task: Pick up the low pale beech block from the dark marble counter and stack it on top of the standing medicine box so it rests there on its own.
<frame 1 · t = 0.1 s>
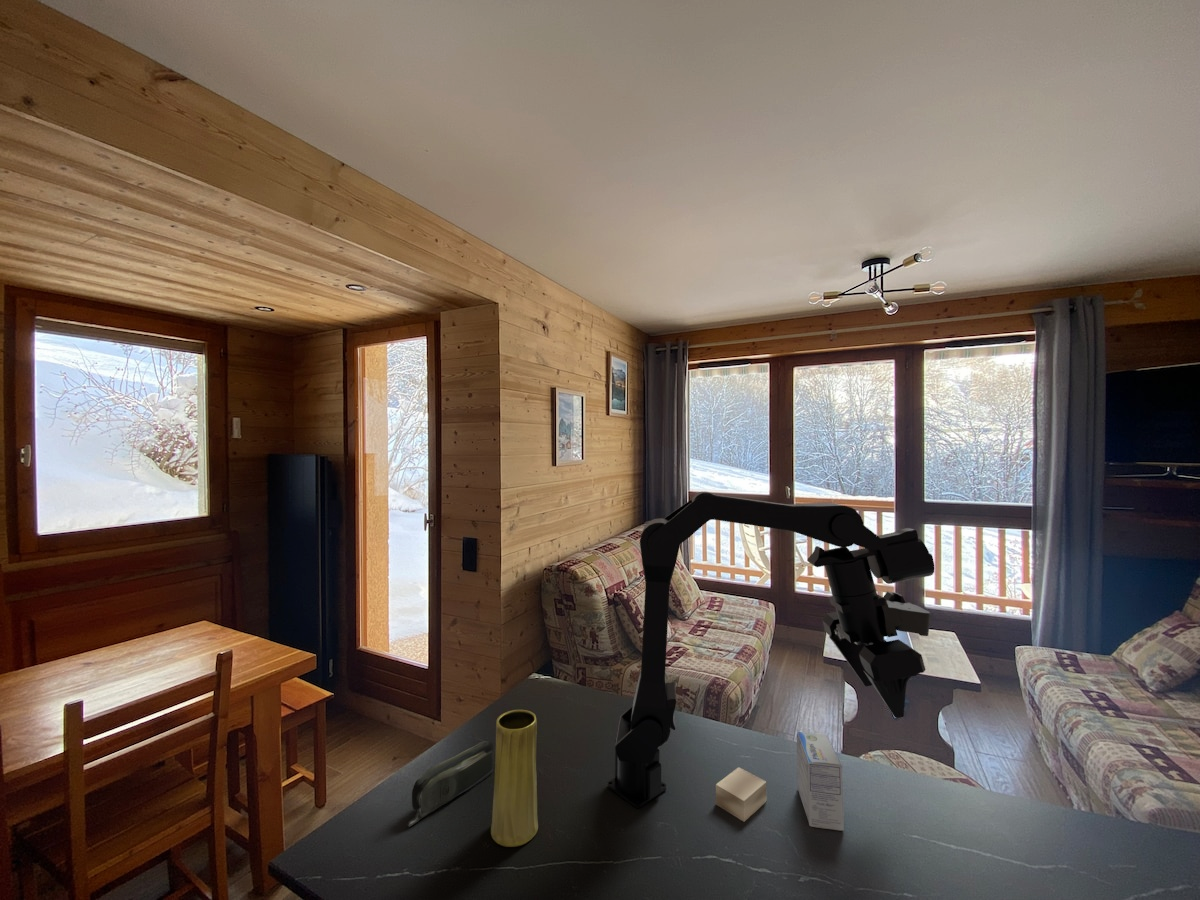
hand: (882, 700, 67), 15 cm above the kitchen counter, tool pointing down, fingers open, 9 cm apart
stapler: (452, 797, 70), on the kitchen counter
beech block: (741, 804, 69), on the kitchen counter
medicine box: (818, 811, 67), on the kitchen counter
vase: (514, 831, 63), on the kitchen counter
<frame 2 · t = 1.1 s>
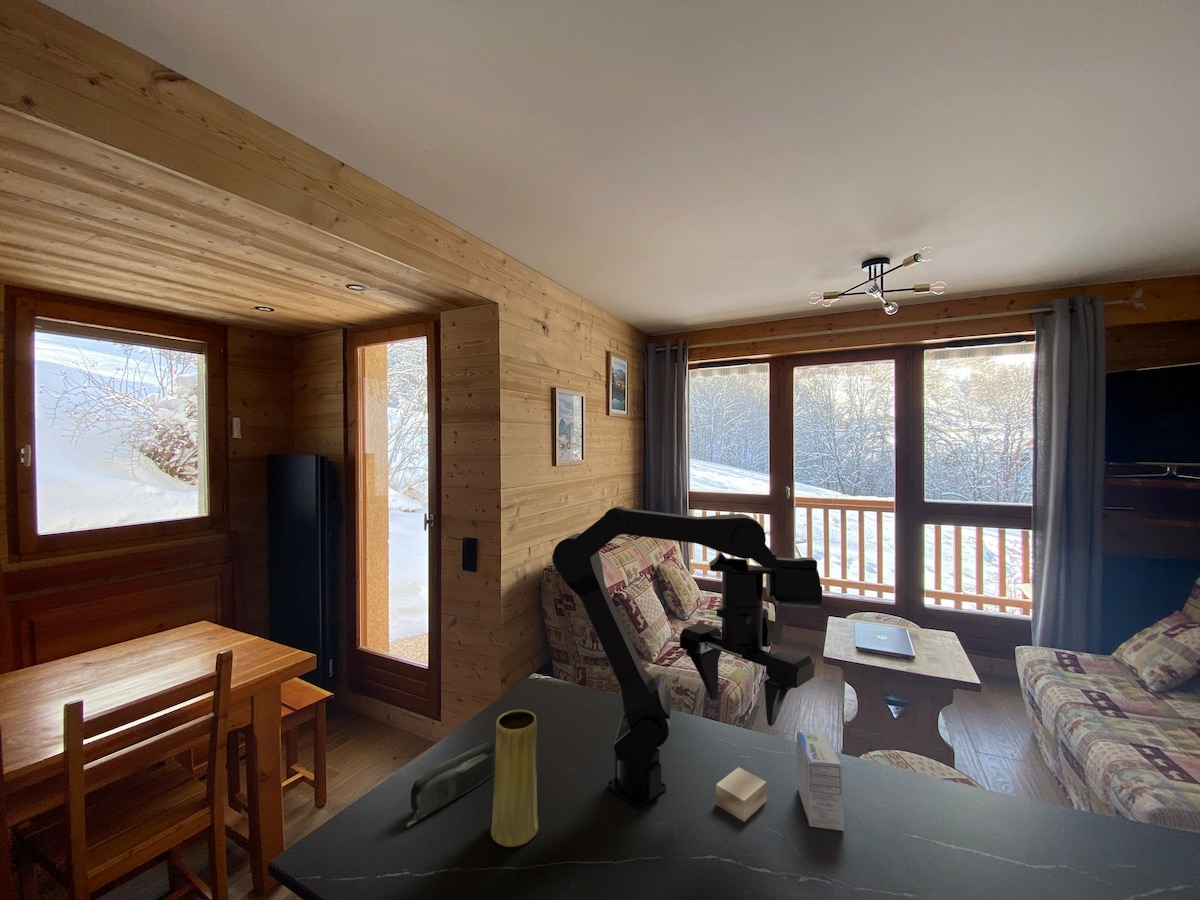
hand: (741, 711, 69), 13 cm above the kitchen counter, tool pointing down, fingers open, 9 cm apart
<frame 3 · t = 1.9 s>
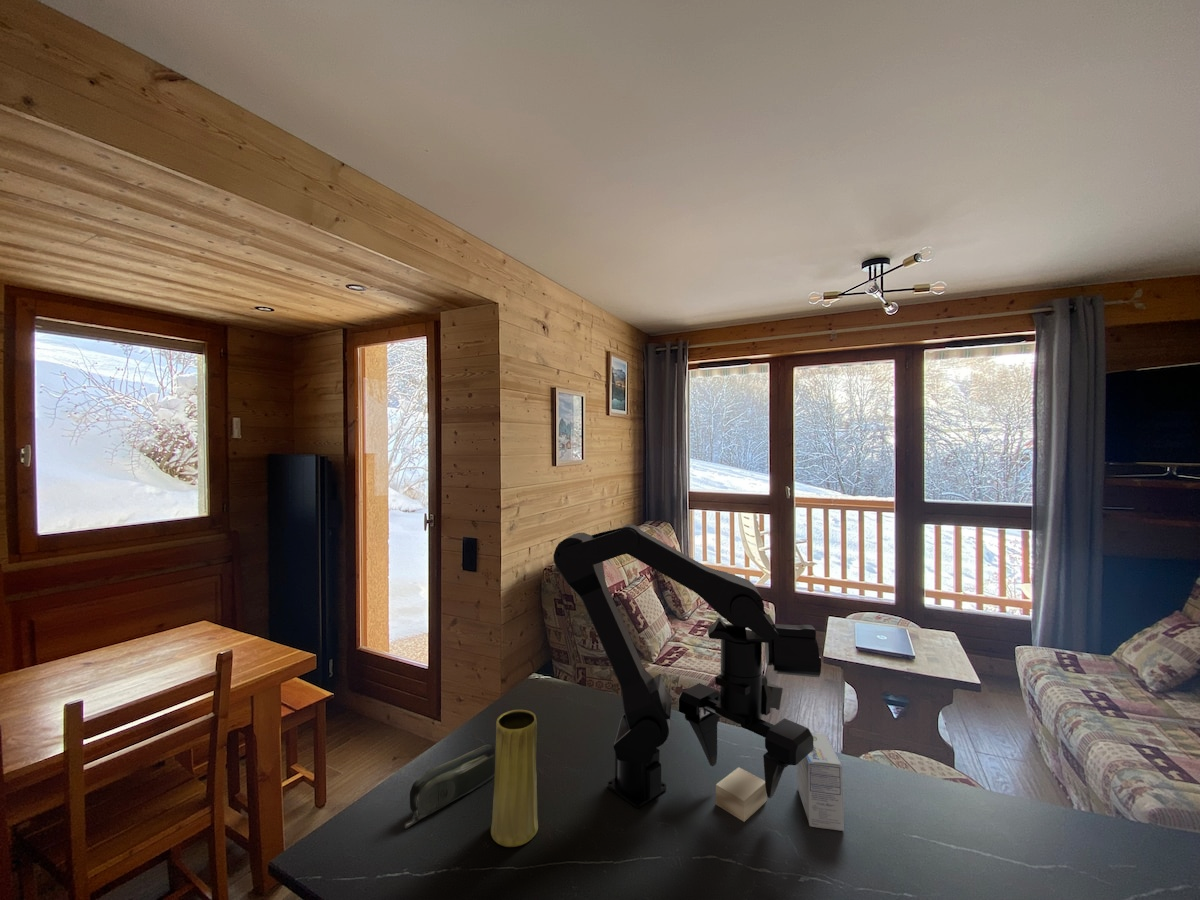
hand: (740, 780, 69), 3 cm above the kitchen counter, tool pointing down, fingers open, 9 cm apart
nothing on the kitchen counter moved.
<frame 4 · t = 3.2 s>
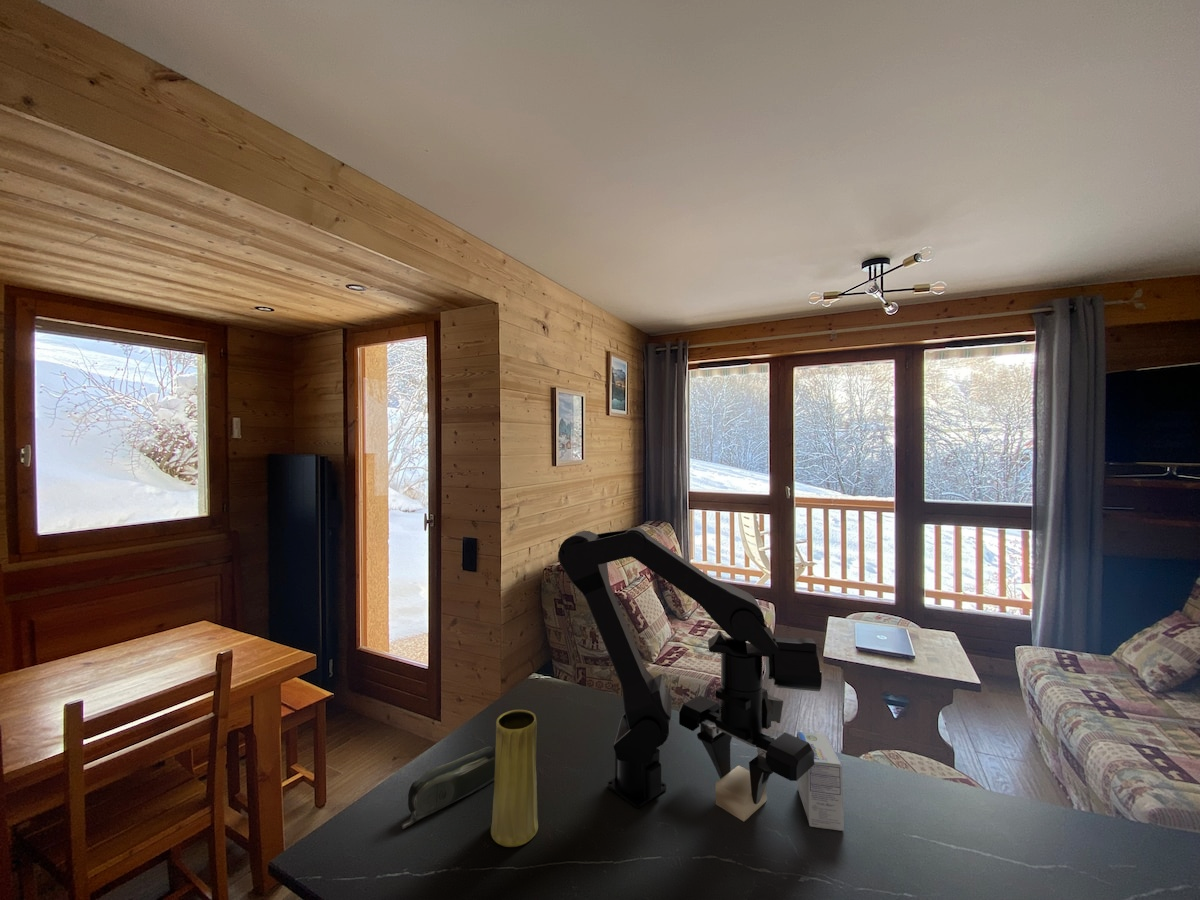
hand: (741, 793, 69), 1 cm above the kitchen counter, tool pointing down, fingers closed on beech block, 4 cm apart
beech block: (741, 802, 69), on the kitchen counter, touching gripper
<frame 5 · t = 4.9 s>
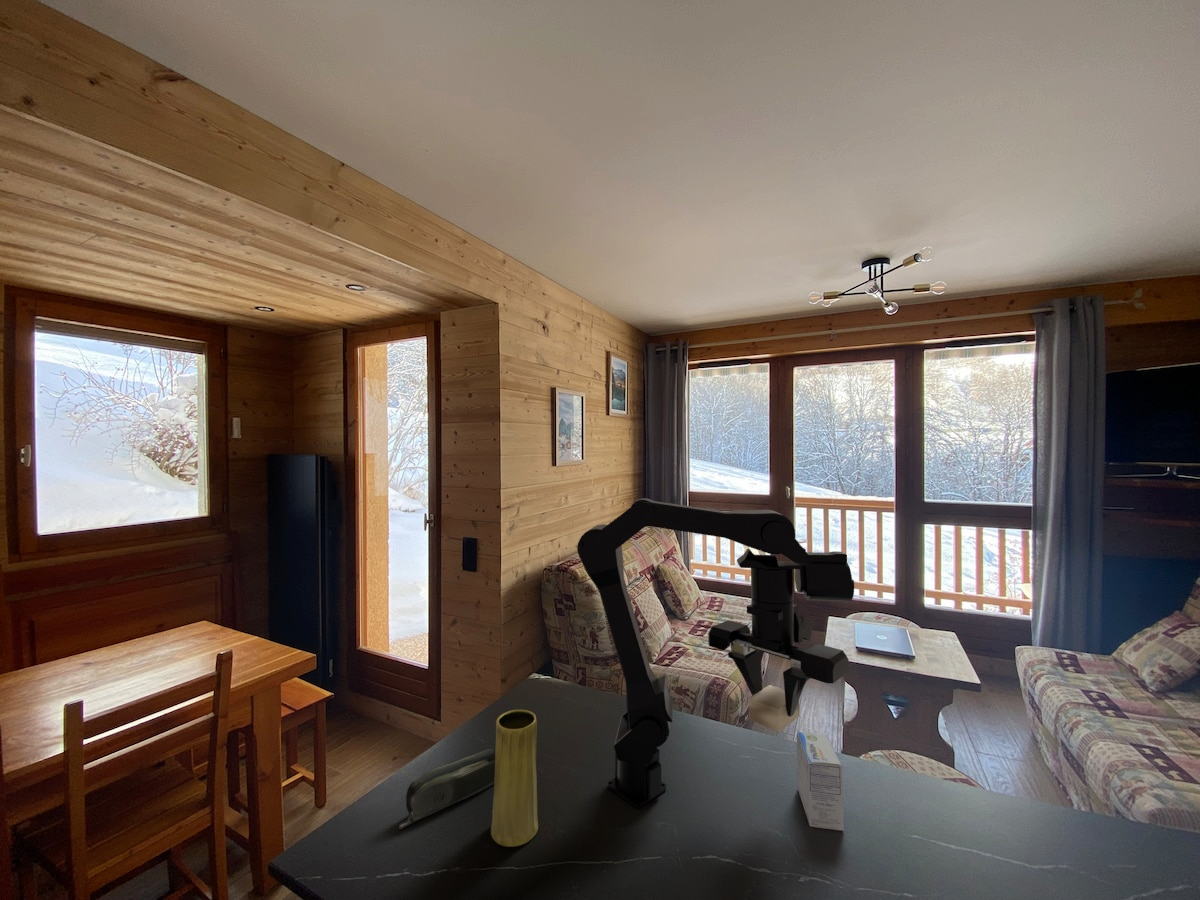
hand: (774, 709, 69), 13 cm above the kitchen counter, tool pointing down, fingers closed on beech block, 4 cm apart
beech block: (774, 717, 69), point 12 cm above the kitchen counter, touching gripper
when the fingers open (11 cm above the kitchen counter, at t = 6.3 s): beech block drops 1 cm, resting on medicine box.
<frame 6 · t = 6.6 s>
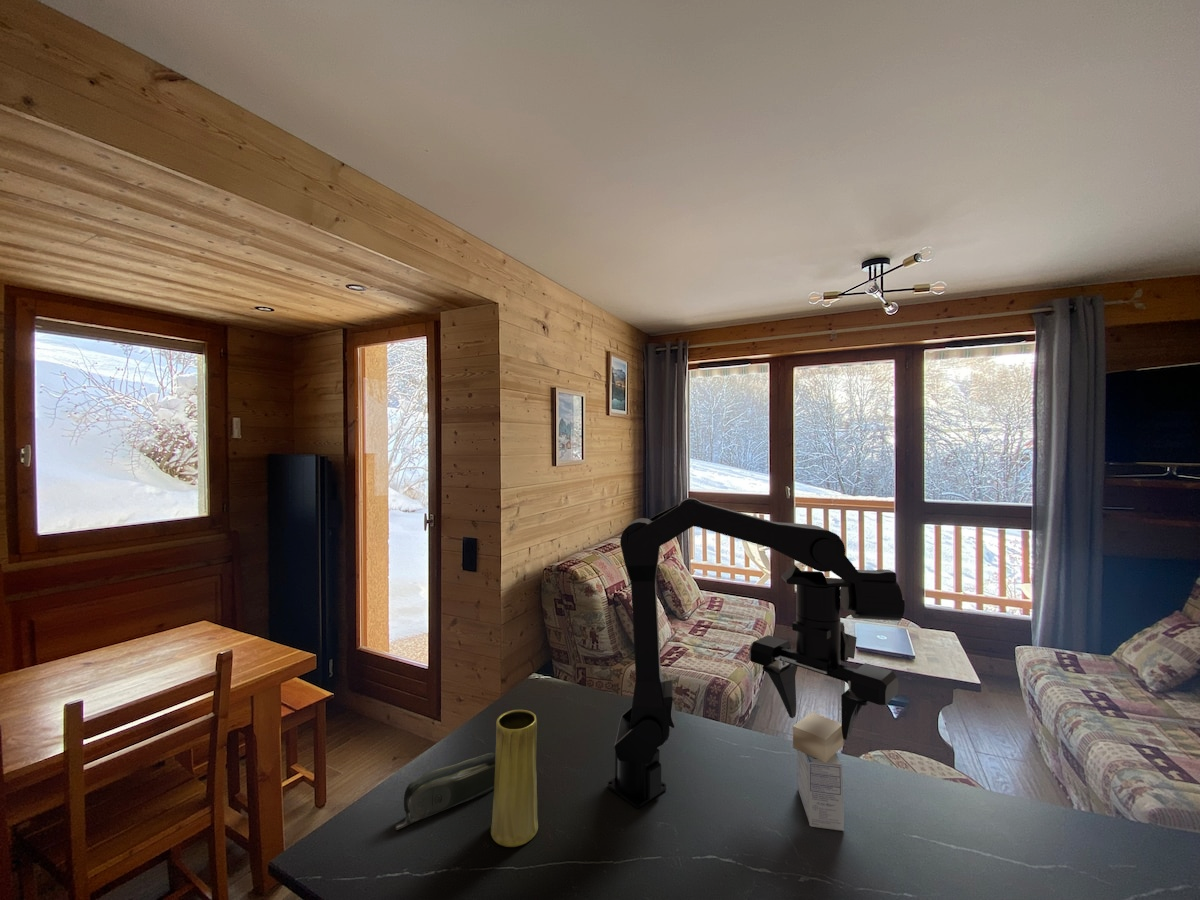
hand: (818, 727, 68), 11 cm above the kitchen counter, tool pointing down, fingers open, 7 cm apart
beech block: (818, 746, 68), point 9 cm above the kitchen counter, touching medicine box
medicine box: (819, 811, 67), on the kitchen counter, touching beech block
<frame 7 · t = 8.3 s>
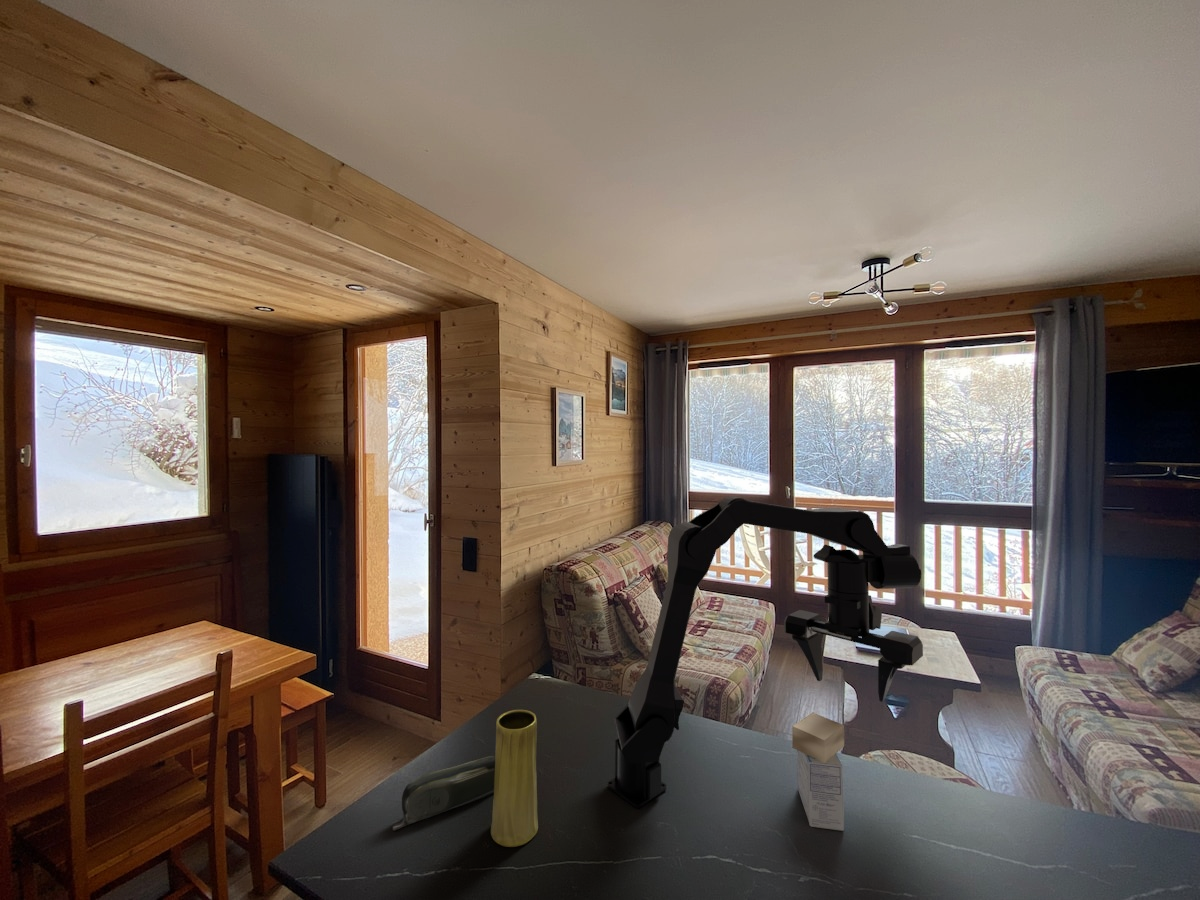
hand: (849, 690, 75), 13 cm above the kitchen counter, tool pointing down, fingers open, 9 cm apart
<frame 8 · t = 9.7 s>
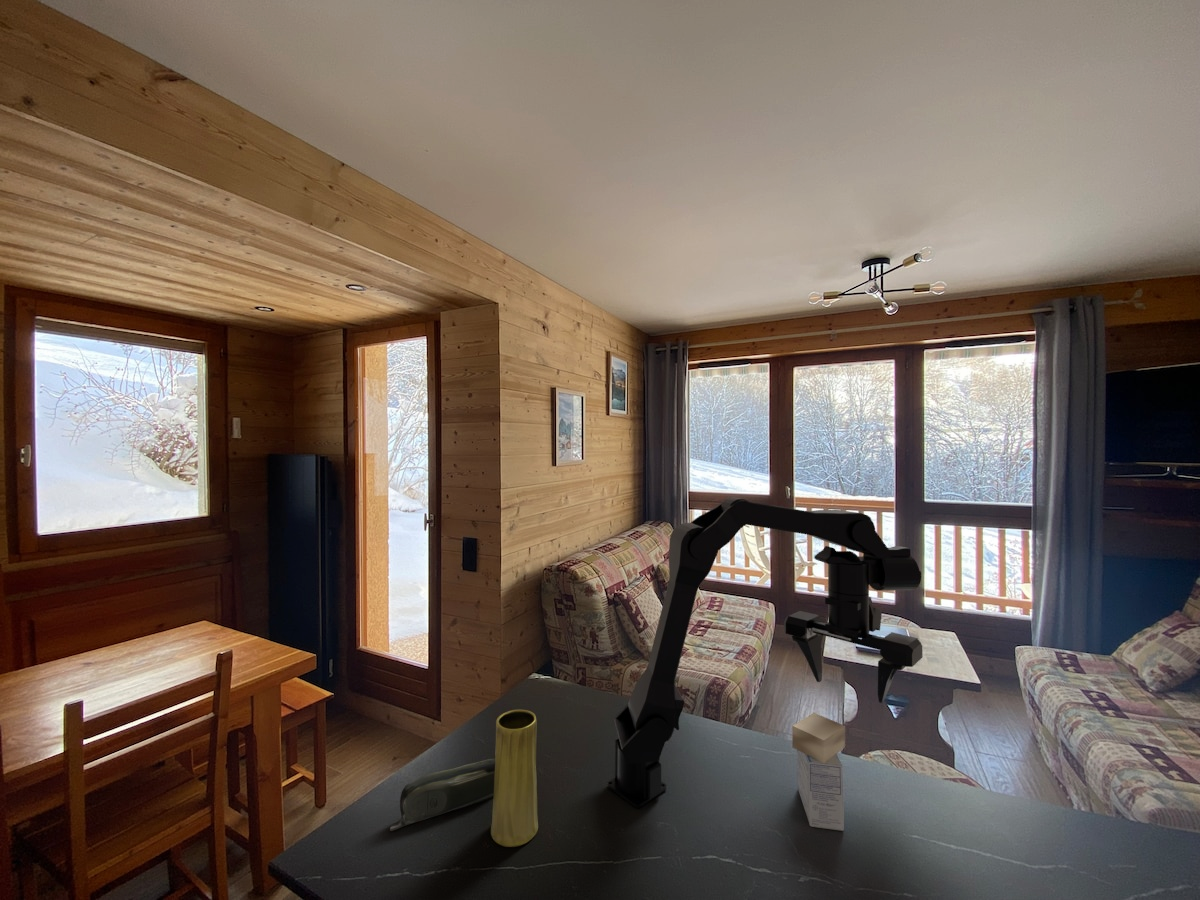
hand: (848, 691, 75), 13 cm above the kitchen counter, tool pointing down, fingers open, 9 cm apart
at the end: beech block inside the target area on the medicine box (0.1 cm from its centre), point 8.9 cm above the medicine box's base; medicine box tilted 0°; the gripper is holding nothing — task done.
